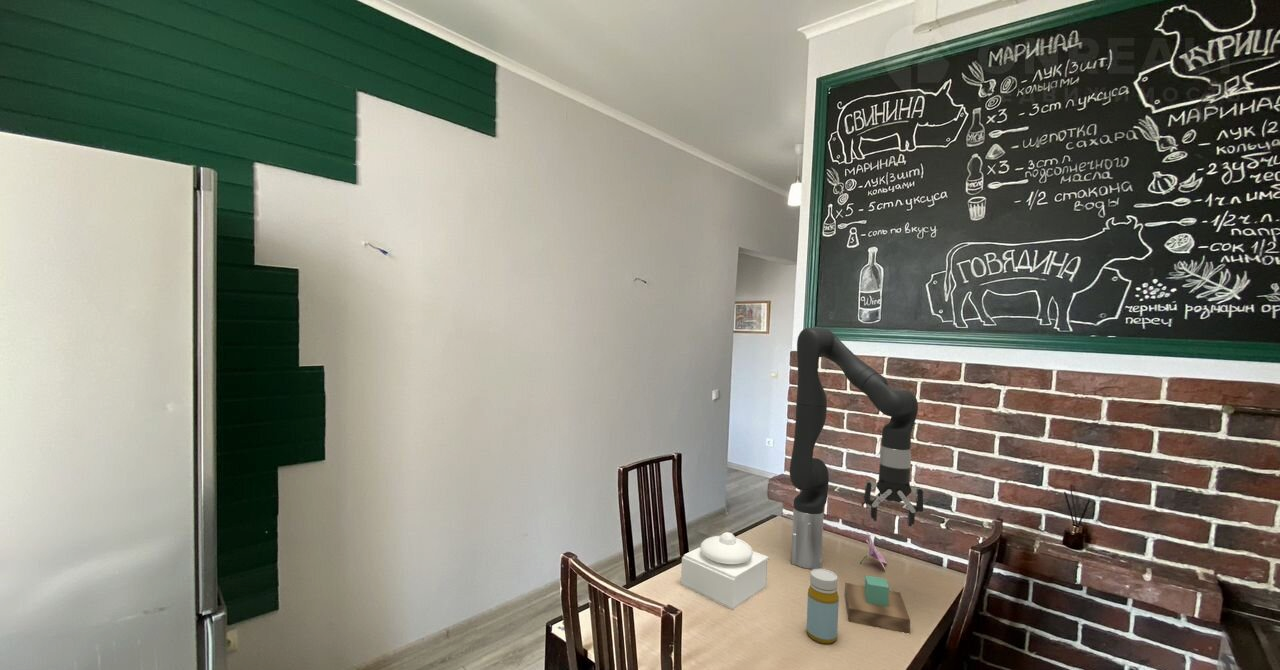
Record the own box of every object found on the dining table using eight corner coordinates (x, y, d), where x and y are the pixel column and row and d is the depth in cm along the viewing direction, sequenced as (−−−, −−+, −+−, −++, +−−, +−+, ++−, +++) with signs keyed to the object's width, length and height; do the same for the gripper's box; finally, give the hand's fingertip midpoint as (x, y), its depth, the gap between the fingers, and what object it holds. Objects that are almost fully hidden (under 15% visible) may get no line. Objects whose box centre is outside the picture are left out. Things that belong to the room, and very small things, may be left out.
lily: (873, 580, 153) (891, 555, 152) (841, 552, 161) (858, 528, 160) (886, 580, 161) (903, 556, 160) (855, 553, 170) (871, 530, 169)
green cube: (867, 603, 131) (867, 584, 131) (864, 593, 136) (865, 575, 136) (888, 606, 130) (888, 587, 130) (884, 597, 134) (885, 578, 134)
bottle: (801, 627, 125) (804, 567, 125) (828, 627, 126) (831, 567, 126) (813, 645, 118) (816, 581, 118) (842, 644, 119) (844, 581, 119)
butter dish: (680, 585, 144) (682, 530, 144) (717, 565, 157) (719, 515, 157) (732, 611, 132) (734, 550, 132) (767, 587, 145) (769, 532, 145)
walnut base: (848, 623, 128) (849, 608, 128) (844, 596, 142) (845, 582, 142) (909, 635, 124) (910, 619, 124) (899, 606, 137) (900, 592, 137)
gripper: (867, 463, 135) (864, 523, 135) (927, 470, 130) (924, 532, 131) (865, 457, 142) (862, 513, 142) (921, 463, 137) (918, 522, 138)
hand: (891, 522), depth 137 cm, fingers open, 8 cm apart
